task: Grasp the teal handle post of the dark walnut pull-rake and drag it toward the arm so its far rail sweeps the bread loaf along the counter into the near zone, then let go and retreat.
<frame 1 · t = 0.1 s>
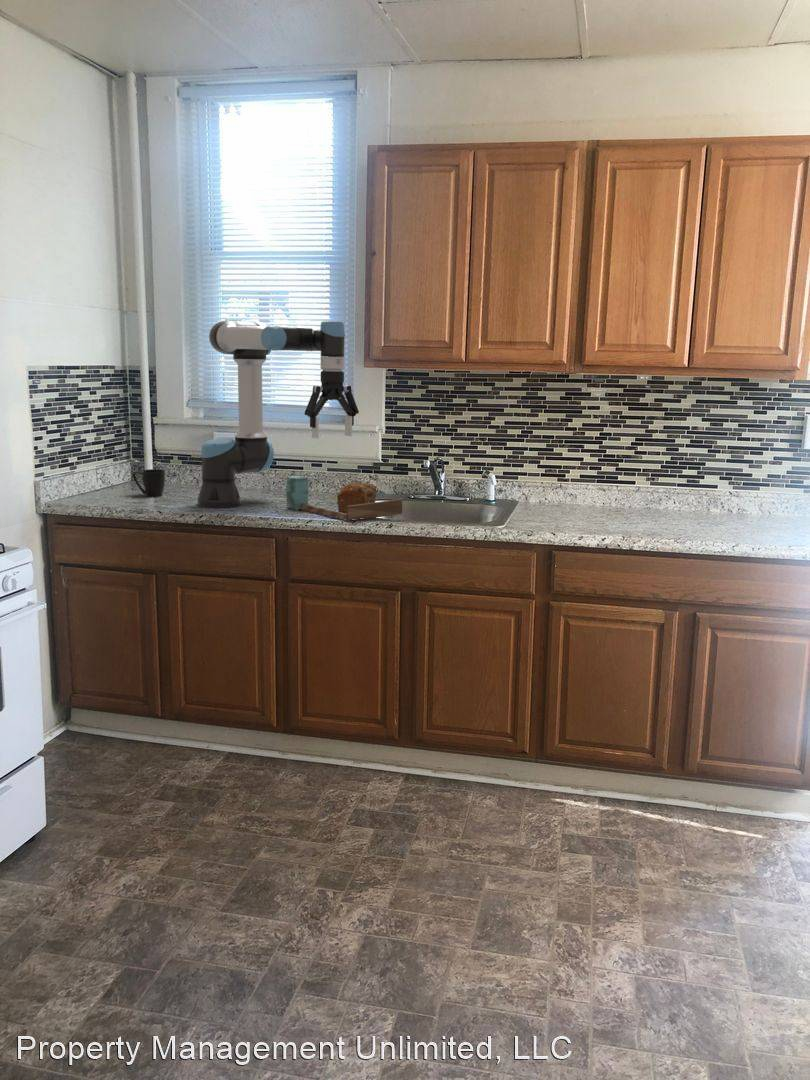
hand: (332, 437, 297), 28 cm above the worktop, fingers open, 13 cm apart
sled: (343, 495, 320), point 6 cm above the worktop, slide at 0.0 cm
bread: (356, 511, 324), on the worktop
mug: (149, 496, 346), on the worktop
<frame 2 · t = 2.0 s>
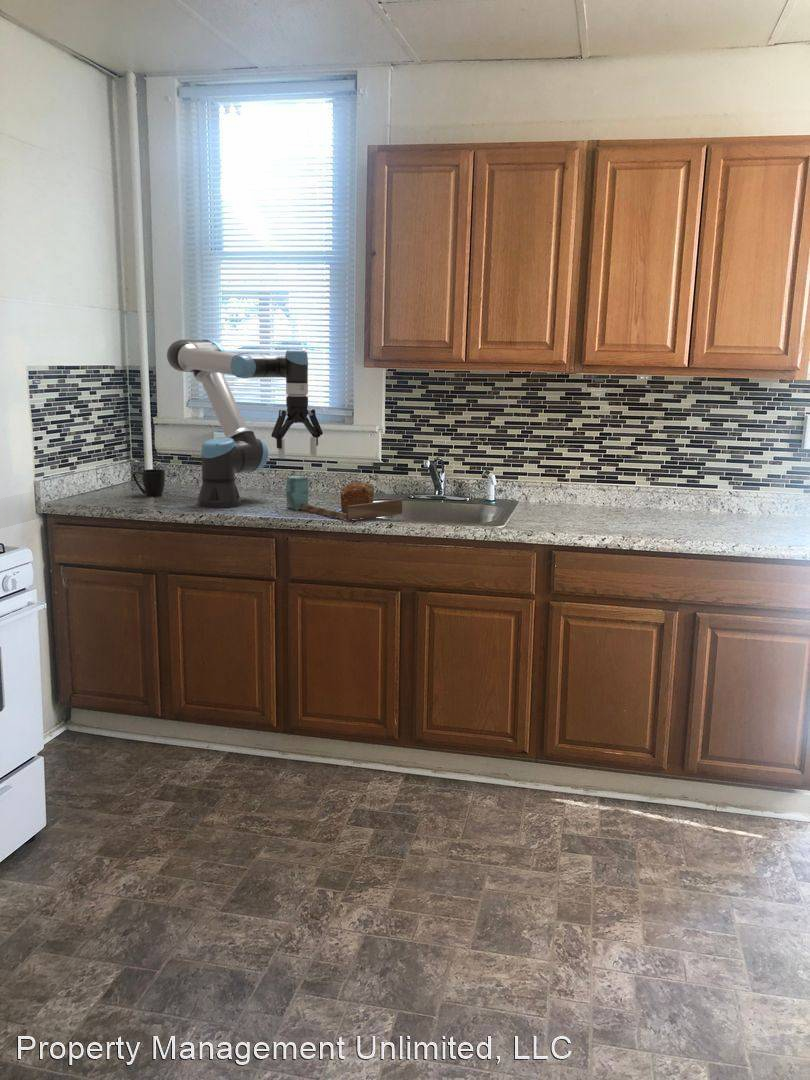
hand: (297, 456, 321), 18 cm above the worktop, fingers open, 13 cm apart
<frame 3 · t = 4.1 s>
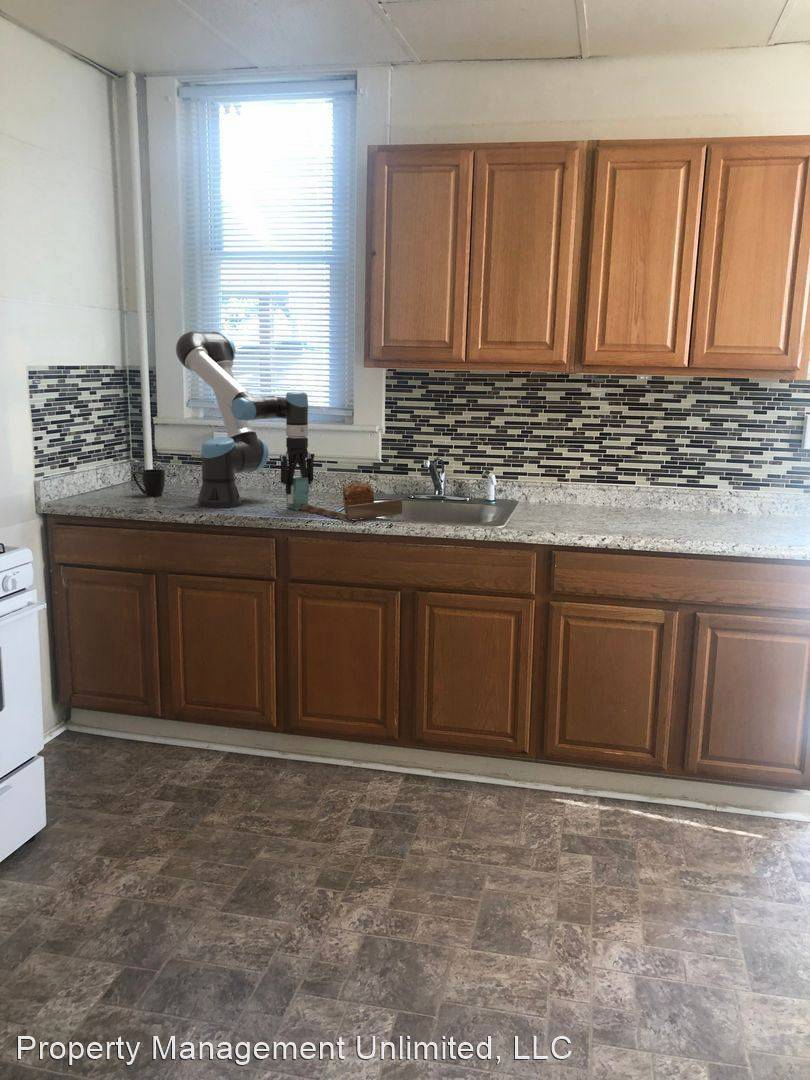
hand: (297, 502, 324), 2 cm above the worktop, fingers closed on sled, 5 cm apart
sled: (343, 495, 320), point 6 cm above the worktop, slide at 0.0 cm, touching gripper
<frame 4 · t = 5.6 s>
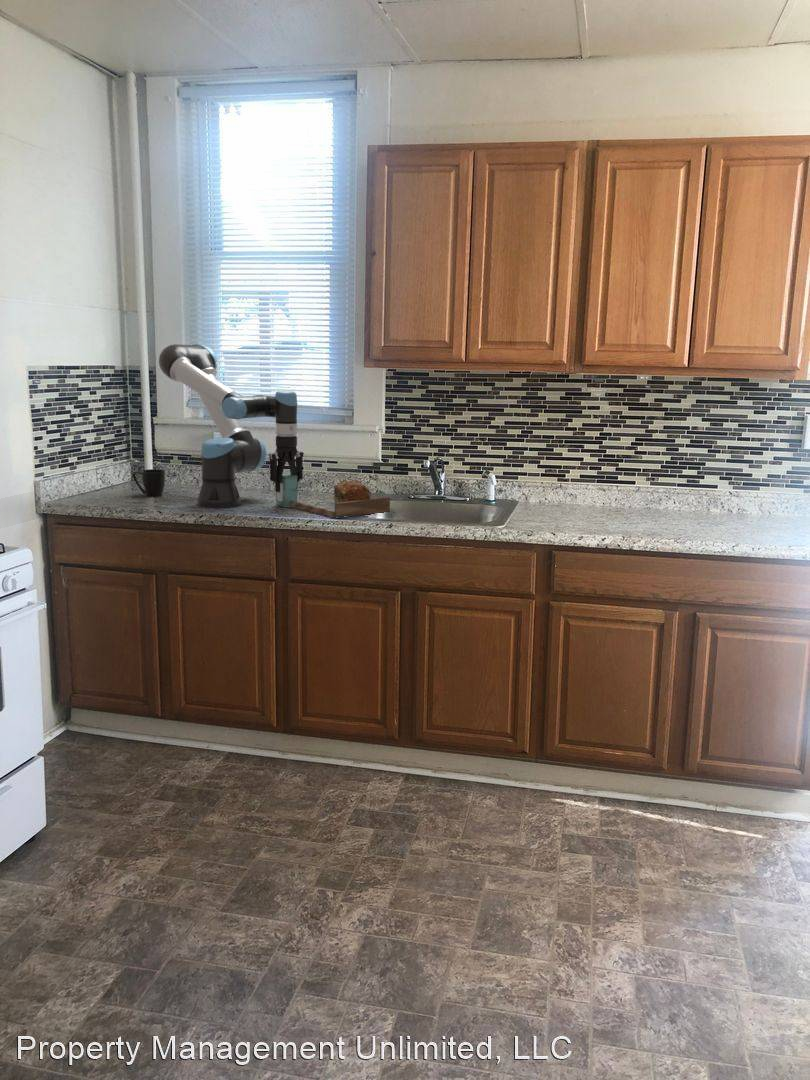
hand: (286, 499, 329), 2 cm above the worktop, fingers closed on sled, 5 cm apart
sled: (332, 492, 325), point 6 cm above the worktop, slide at 6.6 cm, touching gripper
bread: (351, 510, 326), on the worktop
everything else where it was.
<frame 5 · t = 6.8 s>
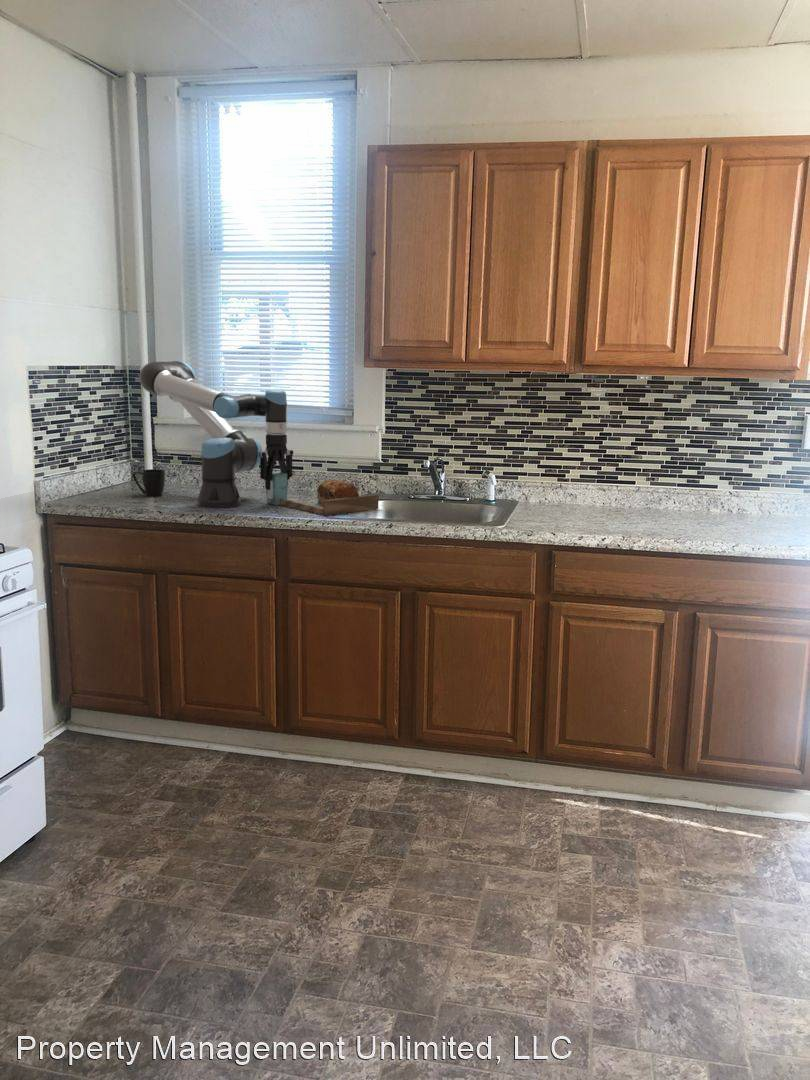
hand: (276, 497, 334), 2 cm above the worktop, fingers closed on sled, 5 cm apart
sled: (321, 490, 330), point 6 cm above the worktop, slide at 12.8 cm, touching gripper
bread: (337, 508, 329), on the worktop
everything else where it was.
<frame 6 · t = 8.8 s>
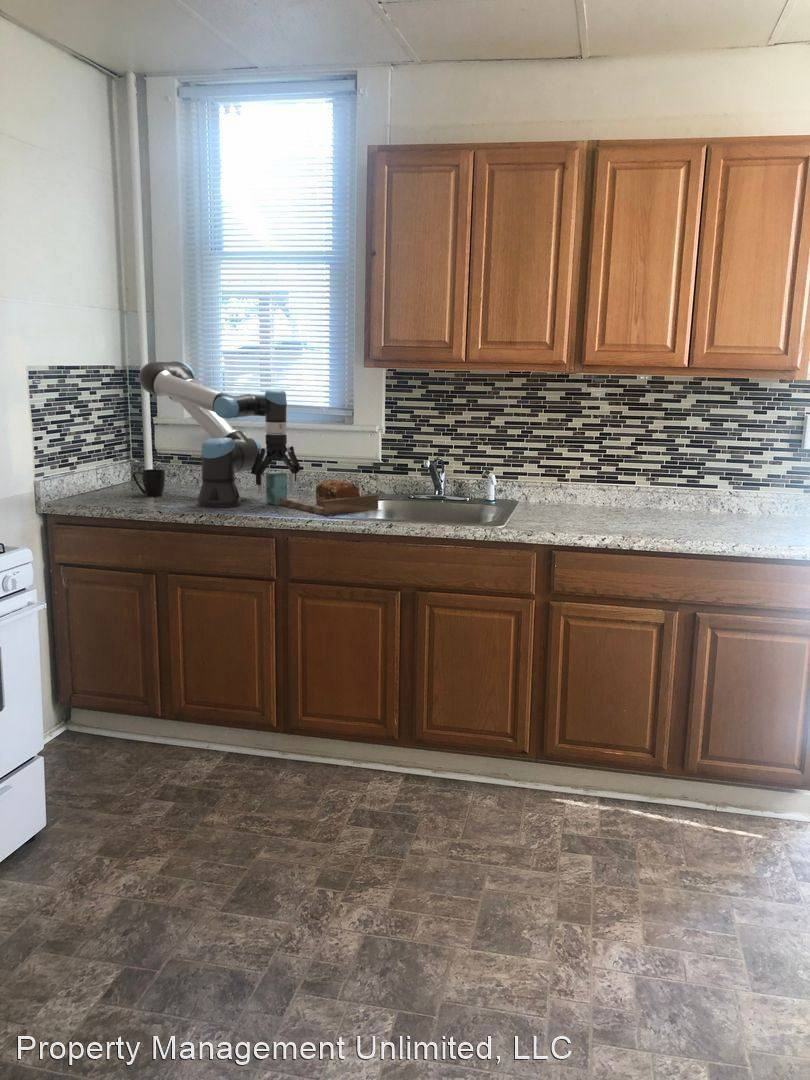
hand: (276, 492, 333), 4 cm above the worktop, fingers open, 13 cm apart
sled: (321, 490, 330), point 6 cm above the worktop, slide at 12.9 cm
everything else where it was.
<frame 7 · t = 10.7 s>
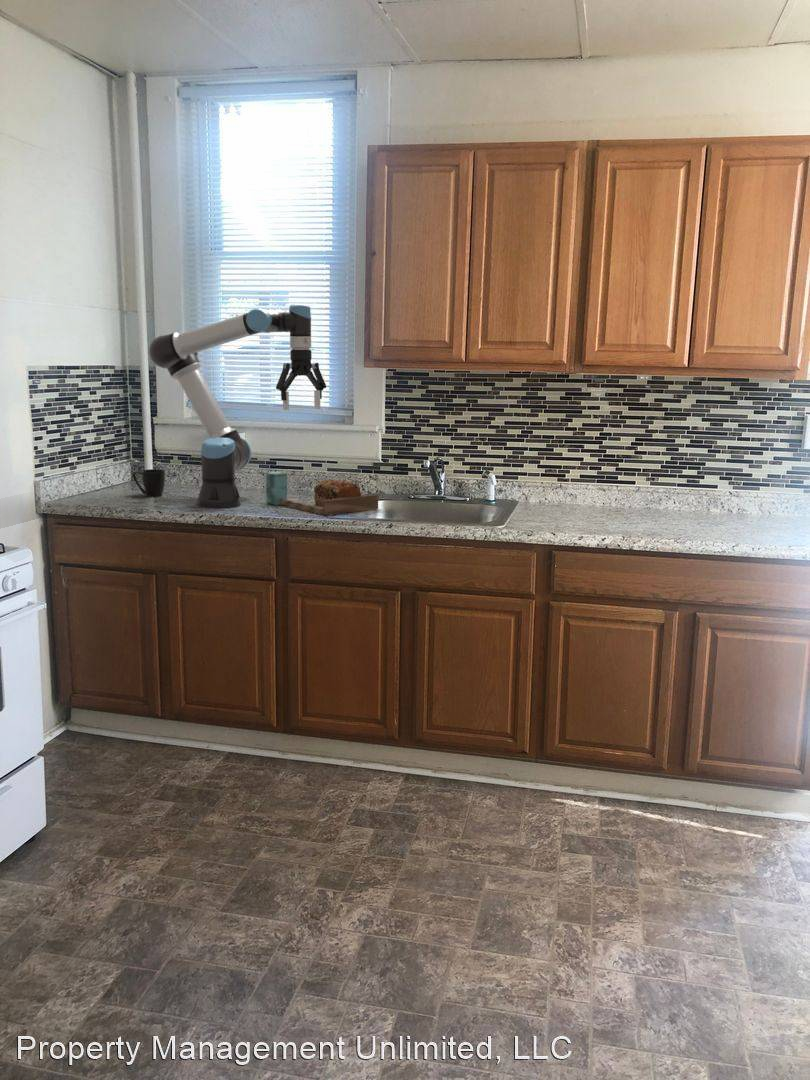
hand: (301, 409, 331), 34 cm above the worktop, fingers open, 13 cm apart
nothing on the worktop moved.
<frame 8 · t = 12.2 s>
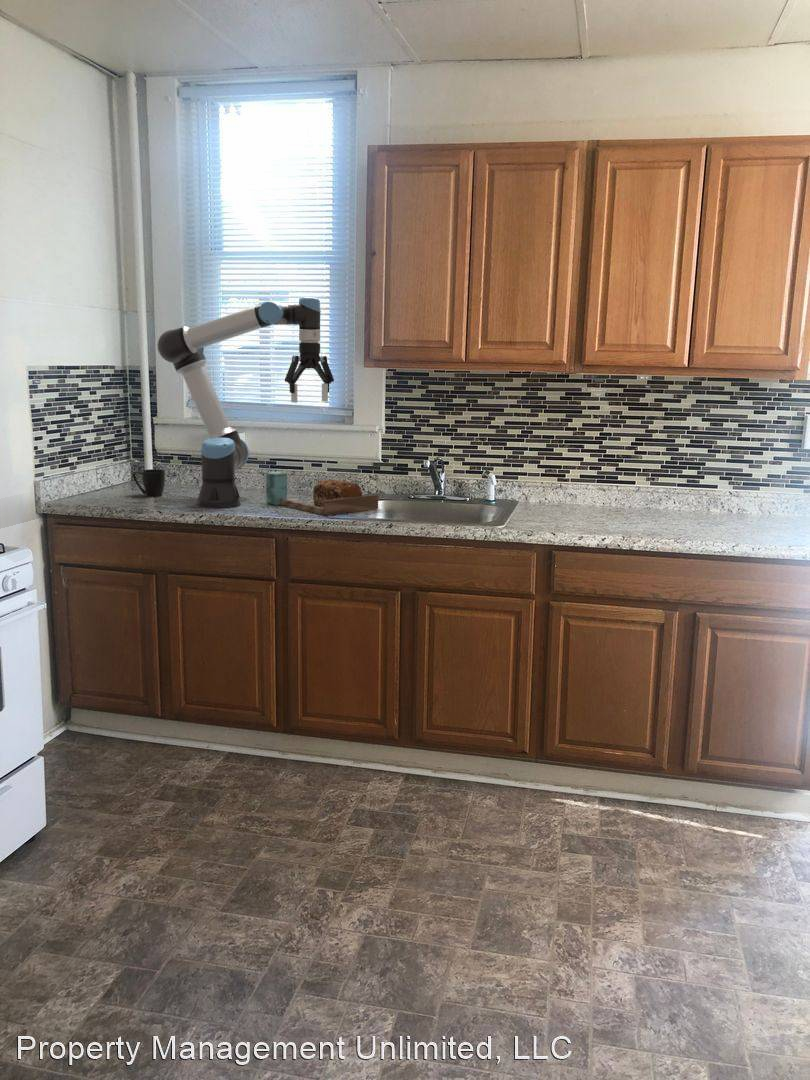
hand: (309, 402, 331), 37 cm above the worktop, fingers open, 13 cm apart
at the end: sled slide at 12.9 cm; bread inside the target area (1.8 cm from its centre), on the worktop; bread tilted 0° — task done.
